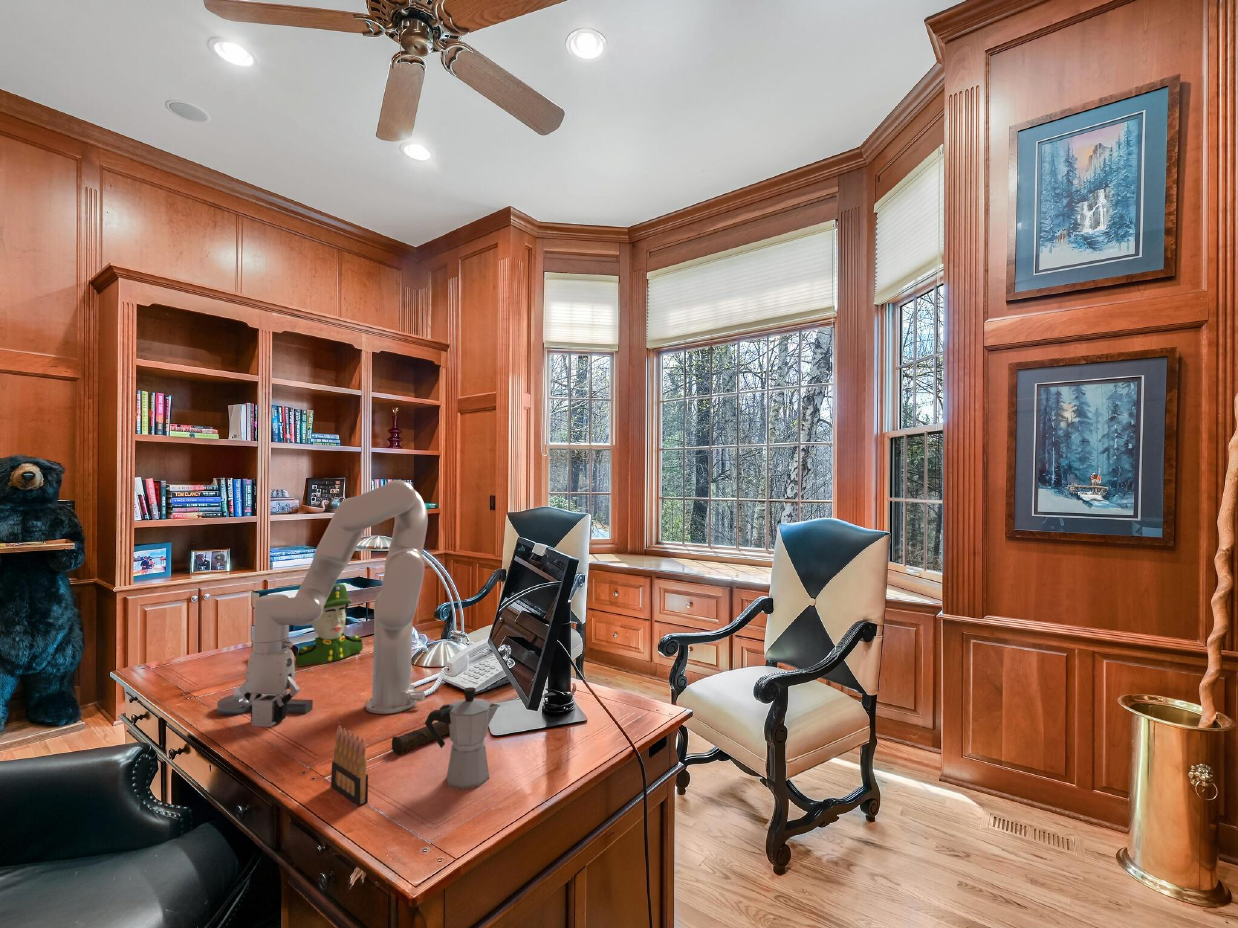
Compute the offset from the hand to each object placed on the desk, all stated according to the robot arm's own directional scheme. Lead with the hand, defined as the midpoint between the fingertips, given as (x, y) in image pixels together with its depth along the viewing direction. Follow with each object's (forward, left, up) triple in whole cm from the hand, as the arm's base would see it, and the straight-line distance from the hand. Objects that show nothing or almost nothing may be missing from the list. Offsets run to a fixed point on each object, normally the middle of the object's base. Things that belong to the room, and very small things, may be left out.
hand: (268, 719), depth 140 cm
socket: (0, 0, -1) cm, 1 cm away
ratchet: (+6, -7, -1) cm, 9 cm away
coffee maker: (-56, +22, -1) cm, 60 cm away
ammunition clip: (-36, +29, -1) cm, 47 cm away
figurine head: (+12, -48, -1) cm, 49 cm away
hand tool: (-43, +5, -1) cm, 43 cm away
